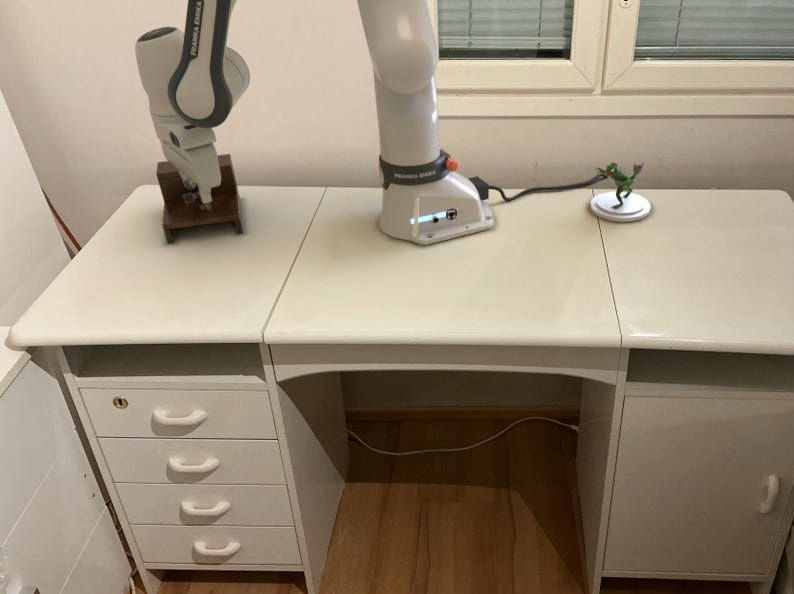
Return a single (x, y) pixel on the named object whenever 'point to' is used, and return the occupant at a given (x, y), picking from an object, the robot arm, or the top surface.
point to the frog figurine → (620, 198)
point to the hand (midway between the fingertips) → (198, 194)
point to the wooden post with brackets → (190, 198)
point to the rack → (198, 199)
